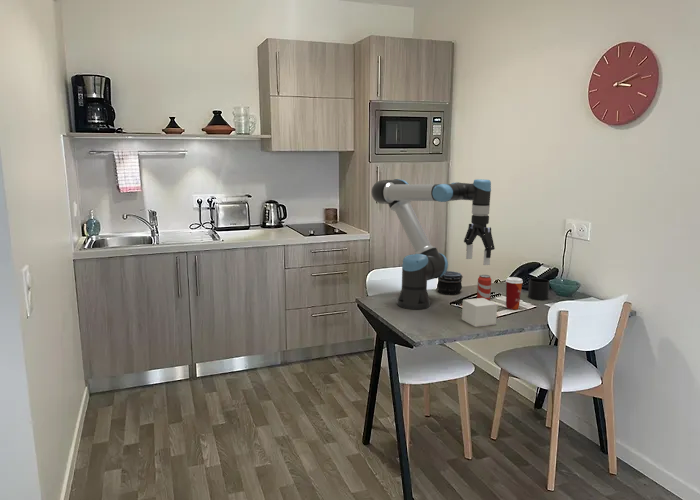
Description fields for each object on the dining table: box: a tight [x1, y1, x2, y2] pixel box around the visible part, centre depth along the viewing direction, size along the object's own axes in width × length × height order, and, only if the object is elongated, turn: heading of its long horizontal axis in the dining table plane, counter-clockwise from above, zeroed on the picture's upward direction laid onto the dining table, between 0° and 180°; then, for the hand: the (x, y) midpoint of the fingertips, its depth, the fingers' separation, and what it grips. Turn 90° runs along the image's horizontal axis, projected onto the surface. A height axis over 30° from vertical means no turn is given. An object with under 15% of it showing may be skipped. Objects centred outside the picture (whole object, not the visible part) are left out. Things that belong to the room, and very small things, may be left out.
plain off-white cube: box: [461, 297, 498, 328], centre depth 223 cm, size 10×10×9 cm
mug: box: [527, 277, 550, 301], centre depth 263 cm, size 9×12×9 cm
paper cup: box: [505, 276, 524, 311], centre depth 244 cm, size 8×8×14 cm
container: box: [436, 270, 464, 296], centre depth 271 cm, size 13×13×10 cm
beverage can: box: [476, 274, 492, 301], centre depth 257 cm, size 6×6×12 cm
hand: (477, 261), depth 236 cm, fingers open, 13 cm apart
